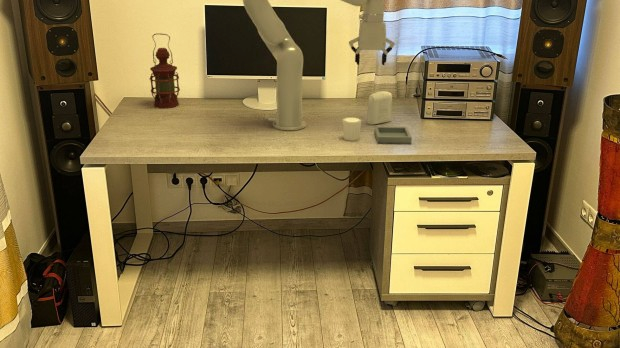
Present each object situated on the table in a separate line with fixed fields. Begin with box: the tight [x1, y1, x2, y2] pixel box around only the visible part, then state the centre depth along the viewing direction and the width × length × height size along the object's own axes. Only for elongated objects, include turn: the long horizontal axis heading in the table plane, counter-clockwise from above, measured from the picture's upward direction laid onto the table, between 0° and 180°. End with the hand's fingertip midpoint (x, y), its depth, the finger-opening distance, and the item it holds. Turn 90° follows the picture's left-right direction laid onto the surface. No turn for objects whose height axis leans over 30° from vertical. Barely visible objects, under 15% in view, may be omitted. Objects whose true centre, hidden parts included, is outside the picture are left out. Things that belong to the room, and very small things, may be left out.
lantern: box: [149, 33, 181, 109], centre depth 264 cm, size 12×12×30 cm
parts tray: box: [374, 126, 413, 145], centre depth 232 cm, size 12×12×2 cm
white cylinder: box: [342, 116, 362, 142], centre depth 231 cm, size 7×7×7 cm
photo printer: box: [366, 90, 393, 126], centre depth 248 cm, size 10×4×12 cm, turn 123°
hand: (370, 64), depth 241 cm, fingers open, 9 cm apart
